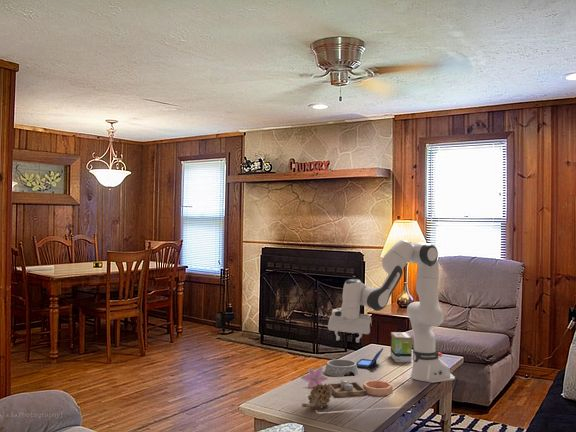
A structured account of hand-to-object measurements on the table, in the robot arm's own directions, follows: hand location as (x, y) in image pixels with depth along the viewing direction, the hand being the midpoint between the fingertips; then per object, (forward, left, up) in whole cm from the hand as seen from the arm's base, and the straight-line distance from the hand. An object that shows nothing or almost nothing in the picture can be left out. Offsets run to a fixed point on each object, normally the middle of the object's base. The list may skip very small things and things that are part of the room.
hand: (347, 341), depth 253 cm
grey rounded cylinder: (+1, +5, -24) cm, 24 cm away
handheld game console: (-26, -42, -25) cm, 55 cm away
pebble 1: (+1, -1, -24) cm, 24 cm away
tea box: (-50, -51, -25) cm, 75 cm away
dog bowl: (-7, -32, -25) cm, 41 cm away
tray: (+1, +2, -24) cm, 24 cm away
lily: (+14, -9, -25) cm, 30 cm away
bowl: (-14, +4, -24) cm, 28 cm away
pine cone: (+21, +21, -25) cm, 39 cm away
